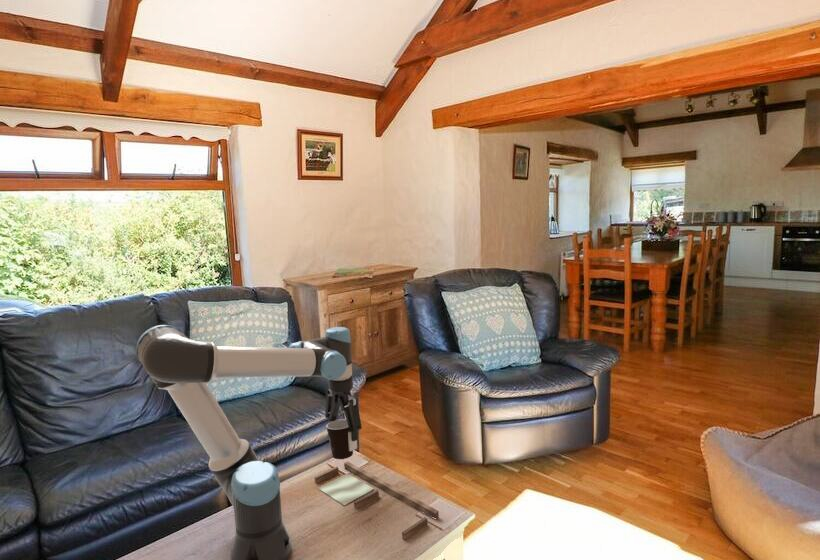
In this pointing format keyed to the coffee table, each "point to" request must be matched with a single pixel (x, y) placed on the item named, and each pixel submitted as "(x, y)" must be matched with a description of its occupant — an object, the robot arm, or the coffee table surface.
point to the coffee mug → (339, 439)
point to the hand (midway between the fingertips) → (344, 444)
